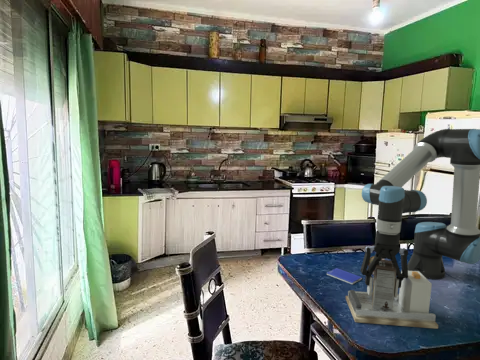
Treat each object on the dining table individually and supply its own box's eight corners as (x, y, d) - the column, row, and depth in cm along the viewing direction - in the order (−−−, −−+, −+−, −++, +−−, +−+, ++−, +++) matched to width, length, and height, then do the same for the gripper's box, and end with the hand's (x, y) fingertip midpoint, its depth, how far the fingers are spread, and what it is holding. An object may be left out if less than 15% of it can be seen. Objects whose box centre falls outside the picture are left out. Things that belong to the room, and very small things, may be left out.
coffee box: (371, 299, 123) (374, 257, 121) (390, 303, 121) (394, 260, 119) (372, 312, 114) (376, 267, 112) (392, 316, 112) (397, 270, 110)
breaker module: (415, 302, 122) (419, 268, 120) (427, 318, 112) (432, 280, 110) (398, 301, 122) (401, 267, 120) (409, 316, 112) (412, 279, 110)
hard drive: (326, 272, 149) (352, 282, 139) (336, 267, 154) (362, 276, 145) (326, 275, 149) (352, 285, 140) (336, 270, 154) (362, 280, 145)
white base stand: (418, 302, 123) (419, 293, 123) (434, 322, 110) (436, 312, 109) (347, 297, 126) (348, 288, 125) (356, 316, 113) (356, 306, 112)
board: (417, 303, 125) (418, 300, 124) (438, 328, 109) (438, 325, 109) (345, 298, 127) (345, 295, 127) (355, 322, 112) (355, 318, 111)
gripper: (359, 233, 112) (353, 297, 115) (424, 237, 109) (417, 302, 113) (354, 226, 119) (349, 287, 122) (415, 230, 117) (408, 292, 120)
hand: (381, 294), depth 118 cm, fingers open, 8 cm apart
